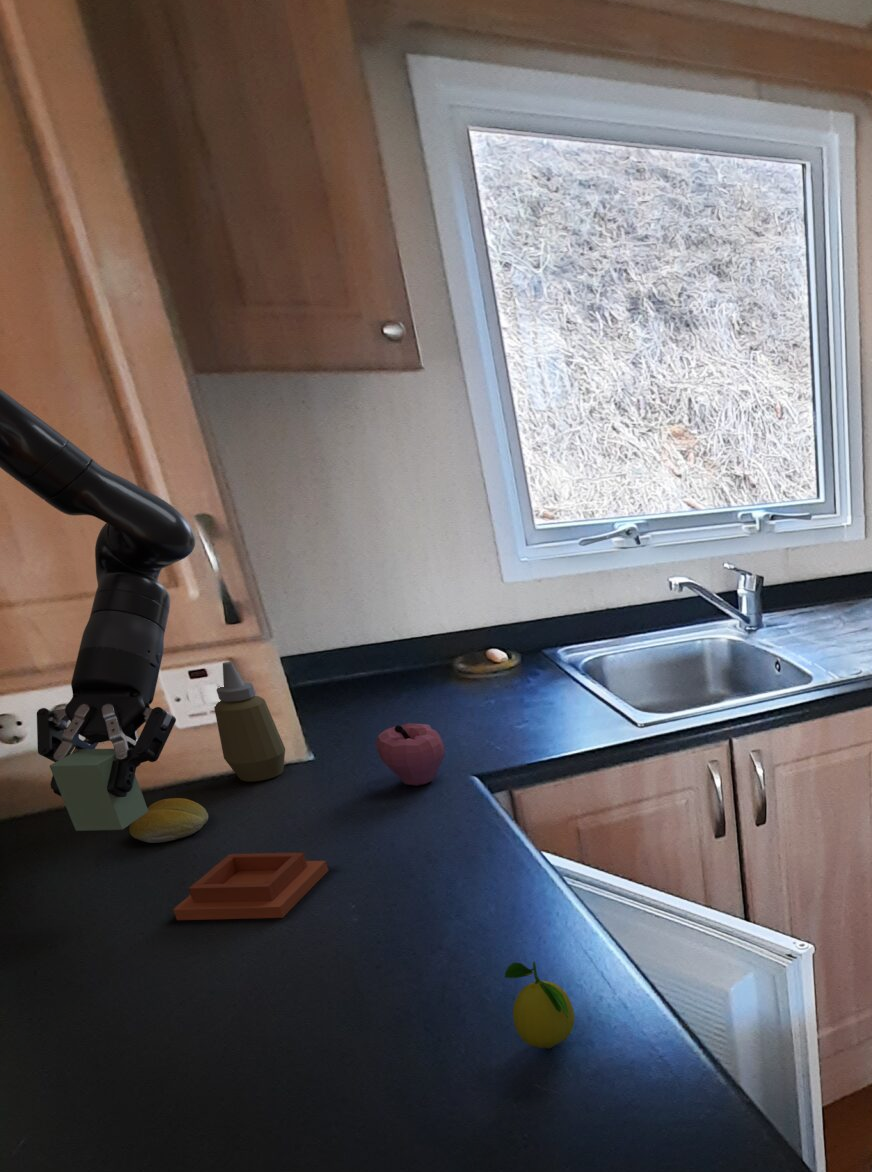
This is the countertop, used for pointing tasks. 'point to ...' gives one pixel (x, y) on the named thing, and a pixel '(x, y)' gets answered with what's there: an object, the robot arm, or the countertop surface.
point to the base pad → (251, 887)
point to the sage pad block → (95, 791)
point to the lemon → (541, 1010)
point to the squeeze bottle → (247, 730)
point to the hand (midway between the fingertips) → (89, 794)
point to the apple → (411, 752)
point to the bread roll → (169, 821)
